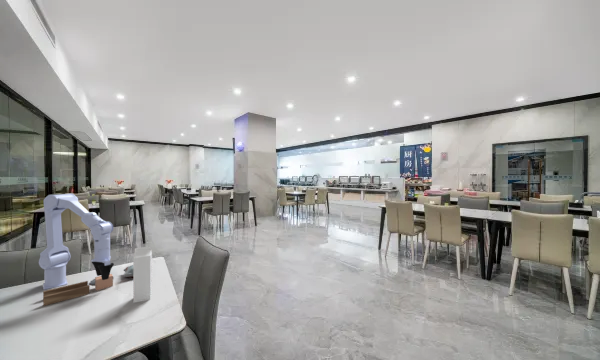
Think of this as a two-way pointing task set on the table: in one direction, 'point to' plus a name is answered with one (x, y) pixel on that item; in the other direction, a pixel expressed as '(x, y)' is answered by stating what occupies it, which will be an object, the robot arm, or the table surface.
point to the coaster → (94, 281)
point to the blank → (103, 282)
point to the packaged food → (128, 271)
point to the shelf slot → (65, 293)
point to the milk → (142, 274)
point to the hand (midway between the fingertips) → (102, 277)
